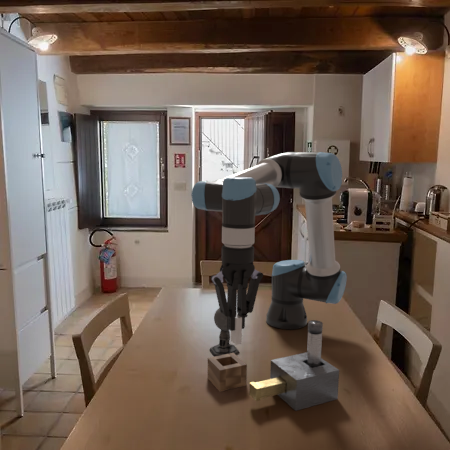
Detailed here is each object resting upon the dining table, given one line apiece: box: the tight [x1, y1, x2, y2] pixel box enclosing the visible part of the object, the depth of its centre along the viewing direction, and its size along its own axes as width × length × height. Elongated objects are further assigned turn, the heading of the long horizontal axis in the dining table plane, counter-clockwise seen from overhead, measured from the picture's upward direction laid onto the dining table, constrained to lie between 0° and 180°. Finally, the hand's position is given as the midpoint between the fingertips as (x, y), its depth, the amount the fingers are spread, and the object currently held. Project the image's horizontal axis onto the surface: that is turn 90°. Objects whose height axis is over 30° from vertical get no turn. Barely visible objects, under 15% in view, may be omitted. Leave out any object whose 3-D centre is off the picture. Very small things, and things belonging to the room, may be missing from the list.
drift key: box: [248, 377, 287, 402], centre depth 115 cm, size 3×9×3 cm, turn 116°
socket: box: [269, 351, 340, 412], centre depth 120 cm, size 12×13×8 cm
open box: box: [207, 353, 248, 392], centre depth 126 cm, size 8×8×6 cm
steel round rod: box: [306, 319, 324, 368], centre depth 120 cm, size 4×4×18 cm
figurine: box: [209, 307, 240, 357], centre depth 144 cm, size 9×10×15 cm
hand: (236, 342), depth 109 cm, fingers closed
